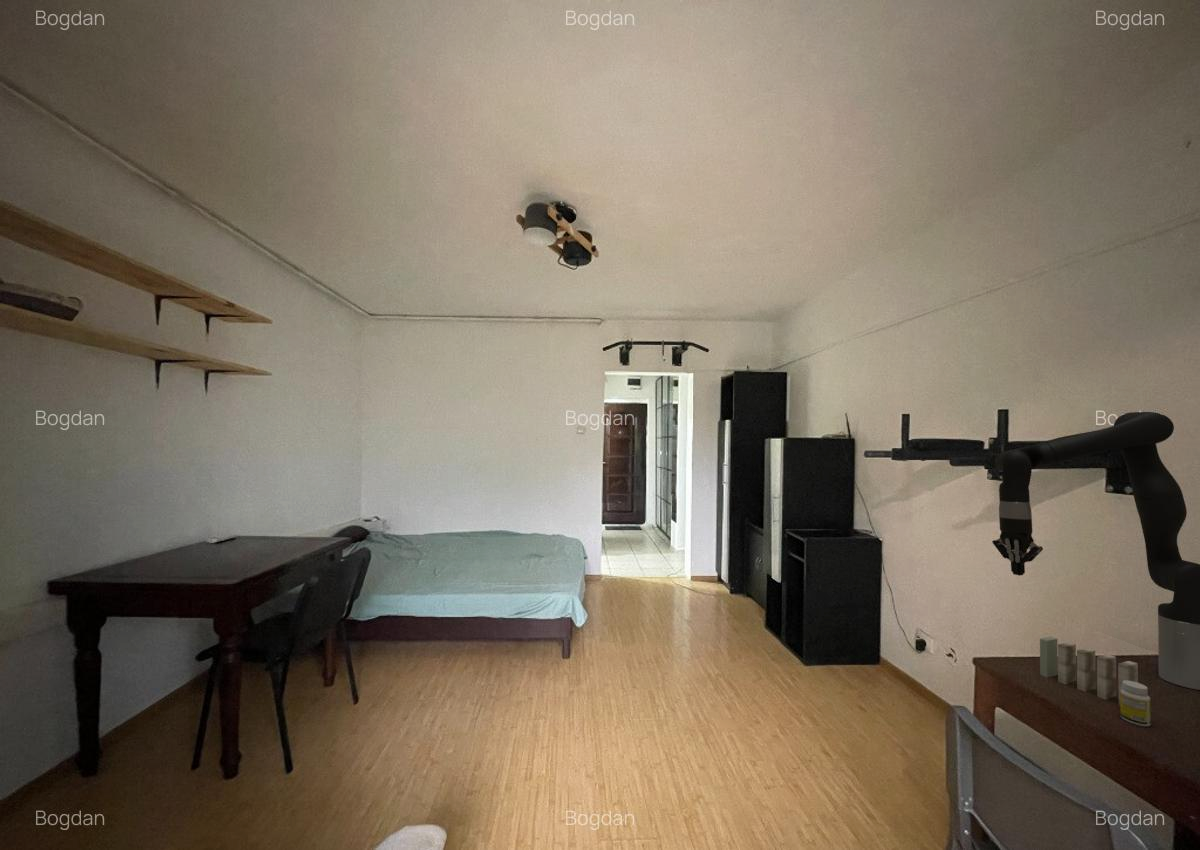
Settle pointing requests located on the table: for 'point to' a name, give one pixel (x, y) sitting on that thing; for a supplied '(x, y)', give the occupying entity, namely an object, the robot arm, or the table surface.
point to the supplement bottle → (1135, 703)
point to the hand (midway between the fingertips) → (1018, 574)
